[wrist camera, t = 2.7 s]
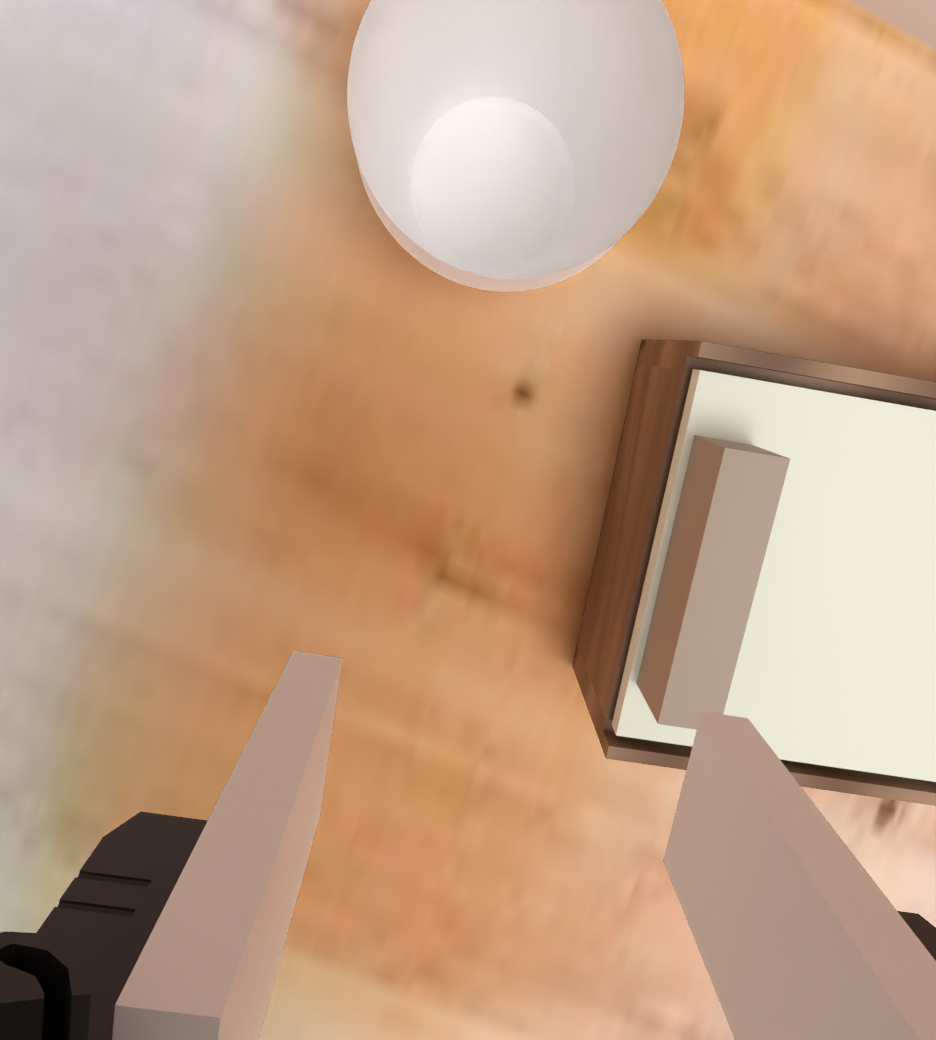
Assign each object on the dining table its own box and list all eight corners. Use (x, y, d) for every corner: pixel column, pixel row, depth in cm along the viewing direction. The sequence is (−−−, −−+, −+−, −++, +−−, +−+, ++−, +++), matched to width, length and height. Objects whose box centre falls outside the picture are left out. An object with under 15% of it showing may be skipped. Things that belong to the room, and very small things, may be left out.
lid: (611, 724, 29) (634, 780, 26) (692, 369, 26) (732, 374, 23) (1008, 782, 30) (1085, 845, 27) (1129, 444, 27) (1235, 462, 24)
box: (572, 666, 37) (606, 758, 29) (641, 339, 33) (701, 341, 25) (901, 715, 38) (1022, 818, 30) (1000, 402, 34) (1167, 423, 26)
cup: (556, 334, 33) (612, 334, 22) (351, 257, 32) (294, 214, 21) (638, 115, 31) (749, -15, 20) (423, 27, 30) (406, -163, 19)
